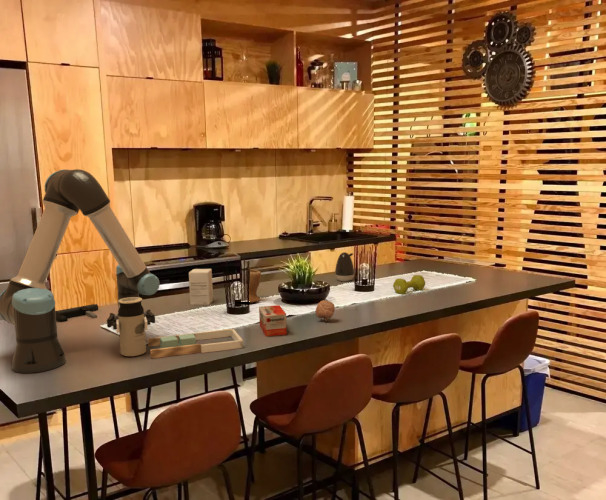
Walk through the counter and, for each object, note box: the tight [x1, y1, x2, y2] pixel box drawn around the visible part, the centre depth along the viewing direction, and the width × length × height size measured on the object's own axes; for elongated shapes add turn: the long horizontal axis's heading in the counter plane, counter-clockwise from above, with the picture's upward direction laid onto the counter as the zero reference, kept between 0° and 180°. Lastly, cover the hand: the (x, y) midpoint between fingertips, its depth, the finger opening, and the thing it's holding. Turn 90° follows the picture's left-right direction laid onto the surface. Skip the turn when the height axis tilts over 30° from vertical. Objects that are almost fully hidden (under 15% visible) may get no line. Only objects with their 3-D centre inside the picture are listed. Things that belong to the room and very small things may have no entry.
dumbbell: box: [392, 274, 426, 295], centre depth 269 cm, size 16×8×7 cm, turn 128°
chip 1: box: [159, 335, 179, 348], centre depth 188 cm, size 5×5×4 cm
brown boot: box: [249, 268, 262, 304], centre depth 257 cm, size 15×12×15 cm
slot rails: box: [147, 332, 202, 359], centre depth 189 cm, size 16×14×3 cm
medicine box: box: [258, 304, 288, 338], centre depth 208 cm, size 15×8×8 cm, turn 13°
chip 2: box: [178, 333, 197, 346], centre depth 190 cm, size 5×5×4 cm
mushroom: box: [315, 299, 336, 323], centre depth 219 cm, size 8×6×8 cm
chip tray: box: [194, 328, 244, 354], centre depth 194 cm, size 14×16×2 cm
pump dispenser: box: [334, 252, 355, 282], centre depth 299 cm, size 10×10×15 cm
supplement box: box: [188, 268, 214, 306], centre depth 255 cm, size 9×9×15 cm
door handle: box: [55, 303, 99, 323], centre depth 236 cm, size 3×20×16 cm
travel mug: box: [117, 296, 147, 357], centre depth 184 cm, size 8×8×18 cm
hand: (132, 327), depth 179 cm, fingers closed on travel mug, 8 cm apart
